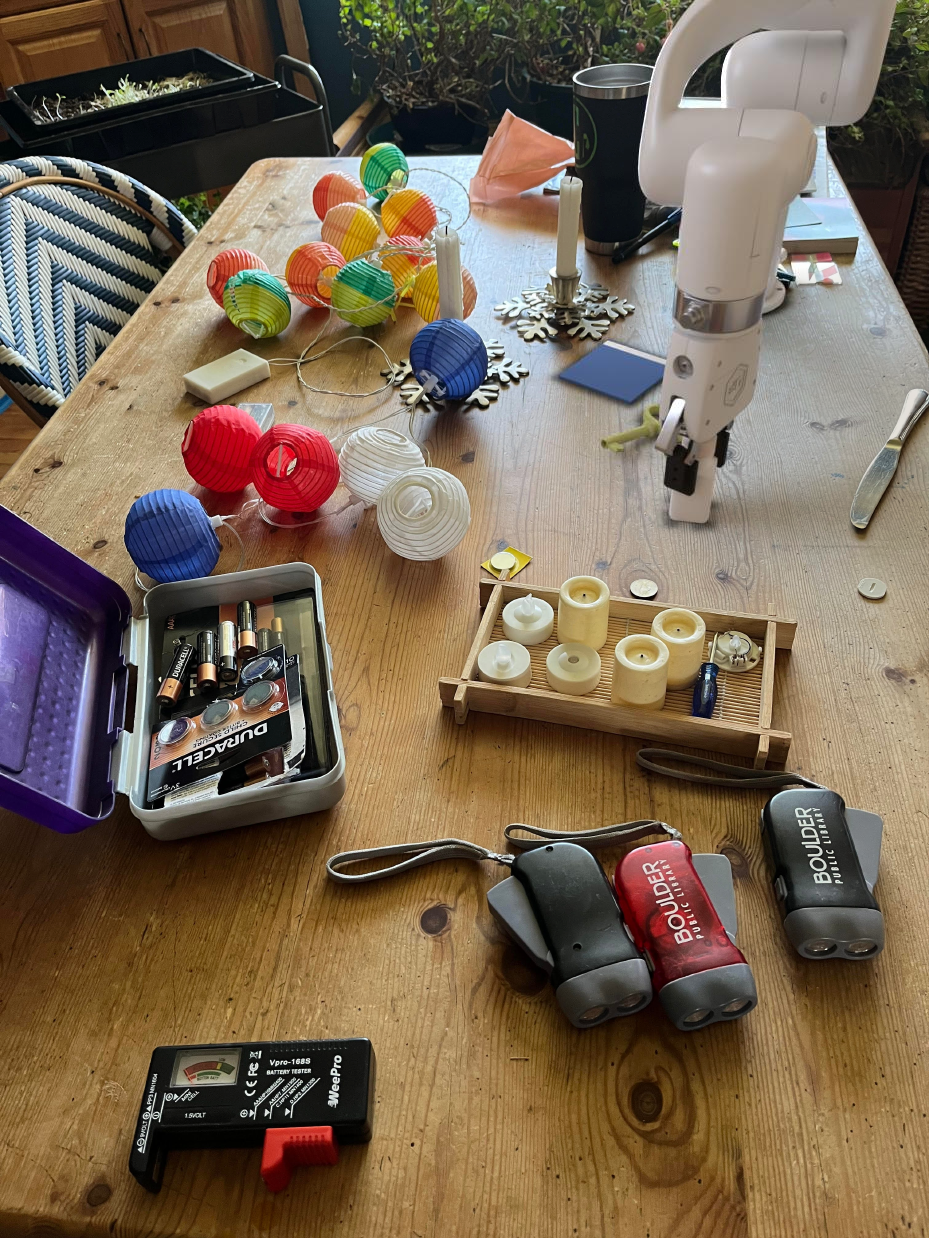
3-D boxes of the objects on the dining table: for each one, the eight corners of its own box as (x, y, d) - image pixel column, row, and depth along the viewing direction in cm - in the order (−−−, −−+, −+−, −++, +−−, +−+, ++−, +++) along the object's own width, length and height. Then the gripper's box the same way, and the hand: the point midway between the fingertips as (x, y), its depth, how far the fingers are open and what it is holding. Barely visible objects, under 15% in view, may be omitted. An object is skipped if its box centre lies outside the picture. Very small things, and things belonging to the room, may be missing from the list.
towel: (608, 342, 116) (608, 339, 116) (679, 366, 110) (679, 363, 110) (558, 378, 111) (558, 375, 110) (630, 404, 105) (630, 401, 105)
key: (596, 456, 98) (596, 440, 97) (654, 407, 104) (656, 391, 103) (650, 478, 95) (652, 462, 93) (708, 426, 101) (710, 410, 99)
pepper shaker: (671, 498, 92) (680, 421, 85) (710, 502, 91) (722, 424, 84) (667, 521, 89) (676, 444, 83) (707, 526, 88) (719, 448, 82)
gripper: (704, 357, 68) (680, 534, 81) (806, 275, 76) (770, 448, 89) (624, 331, 72) (614, 505, 85) (729, 256, 80) (706, 425, 93)
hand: (694, 474), depth 87 cm, fingers closed on pepper shaker, 4 cm apart
